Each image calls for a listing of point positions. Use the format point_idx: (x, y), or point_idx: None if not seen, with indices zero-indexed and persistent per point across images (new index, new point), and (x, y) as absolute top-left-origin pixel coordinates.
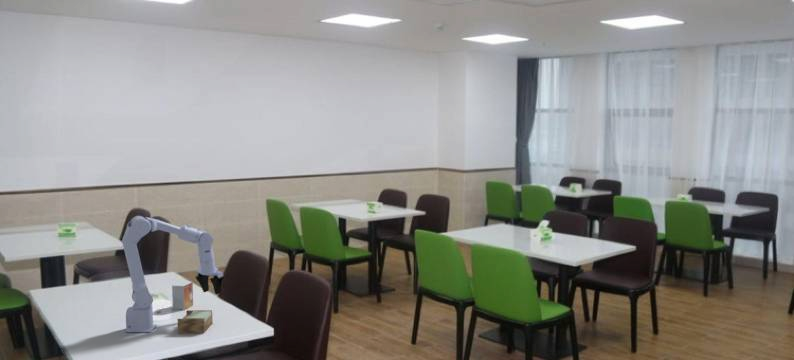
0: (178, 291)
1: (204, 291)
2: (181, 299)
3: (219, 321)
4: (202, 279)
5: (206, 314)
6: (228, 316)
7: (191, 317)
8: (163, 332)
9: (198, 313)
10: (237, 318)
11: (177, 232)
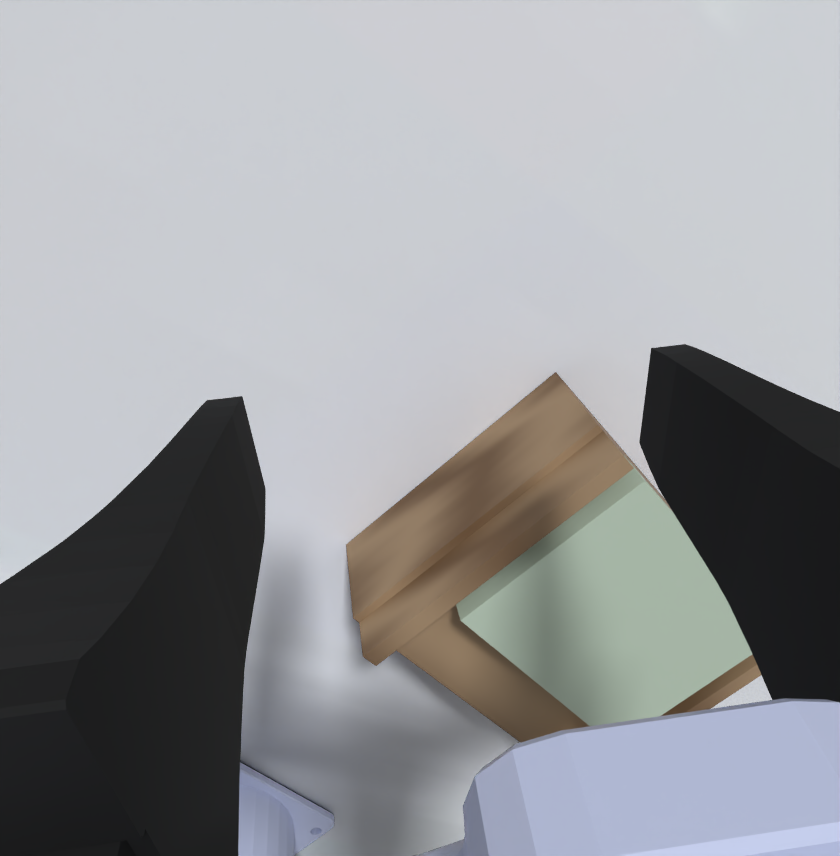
0: None
1: (262, 501)
2: None
3: (556, 274)
4: (212, 772)
5: (698, 574)
6: (476, 53)
7: (641, 711)
8: (413, 751)
9: (587, 616)
10: (655, 23)
11: None
